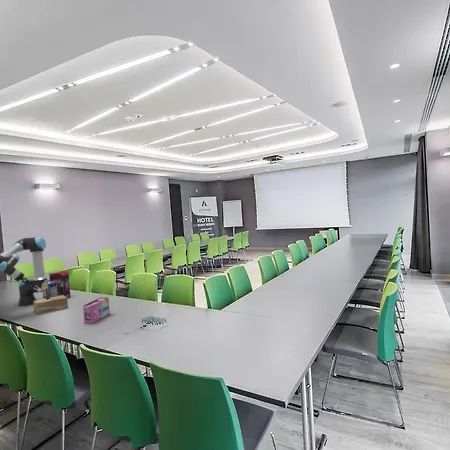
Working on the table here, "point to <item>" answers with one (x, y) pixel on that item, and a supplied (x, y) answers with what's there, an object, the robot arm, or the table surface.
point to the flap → (44, 298)
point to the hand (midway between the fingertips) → (39, 289)
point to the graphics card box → (61, 282)
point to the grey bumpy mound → (152, 320)
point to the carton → (51, 305)
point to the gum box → (96, 310)
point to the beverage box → (50, 289)
